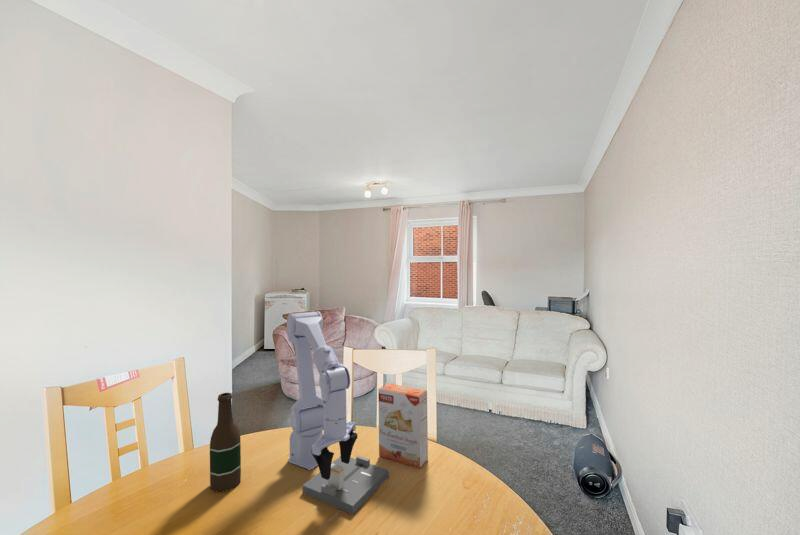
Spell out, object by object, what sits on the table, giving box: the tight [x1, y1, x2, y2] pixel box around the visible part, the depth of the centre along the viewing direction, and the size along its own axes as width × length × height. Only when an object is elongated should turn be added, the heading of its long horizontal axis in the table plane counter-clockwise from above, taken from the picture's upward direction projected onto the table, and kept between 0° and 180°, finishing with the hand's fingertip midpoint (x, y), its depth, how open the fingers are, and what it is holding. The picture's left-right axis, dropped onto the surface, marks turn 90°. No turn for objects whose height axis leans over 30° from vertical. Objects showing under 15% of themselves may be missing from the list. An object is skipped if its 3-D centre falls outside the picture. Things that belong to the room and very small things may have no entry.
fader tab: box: [328, 462, 344, 490], centre depth 86 cm, size 4×2×5 cm, turn 61°
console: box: [302, 455, 390, 515], centre depth 90 cm, size 16×16×4 cm
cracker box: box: [377, 383, 429, 469], centre depth 102 cm, size 14×6×21 cm, turn 61°
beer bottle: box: [209, 392, 242, 493], centre depth 91 cm, size 8×8×24 cm
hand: (335, 469), depth 86 cm, fingers open, 7 cm apart
